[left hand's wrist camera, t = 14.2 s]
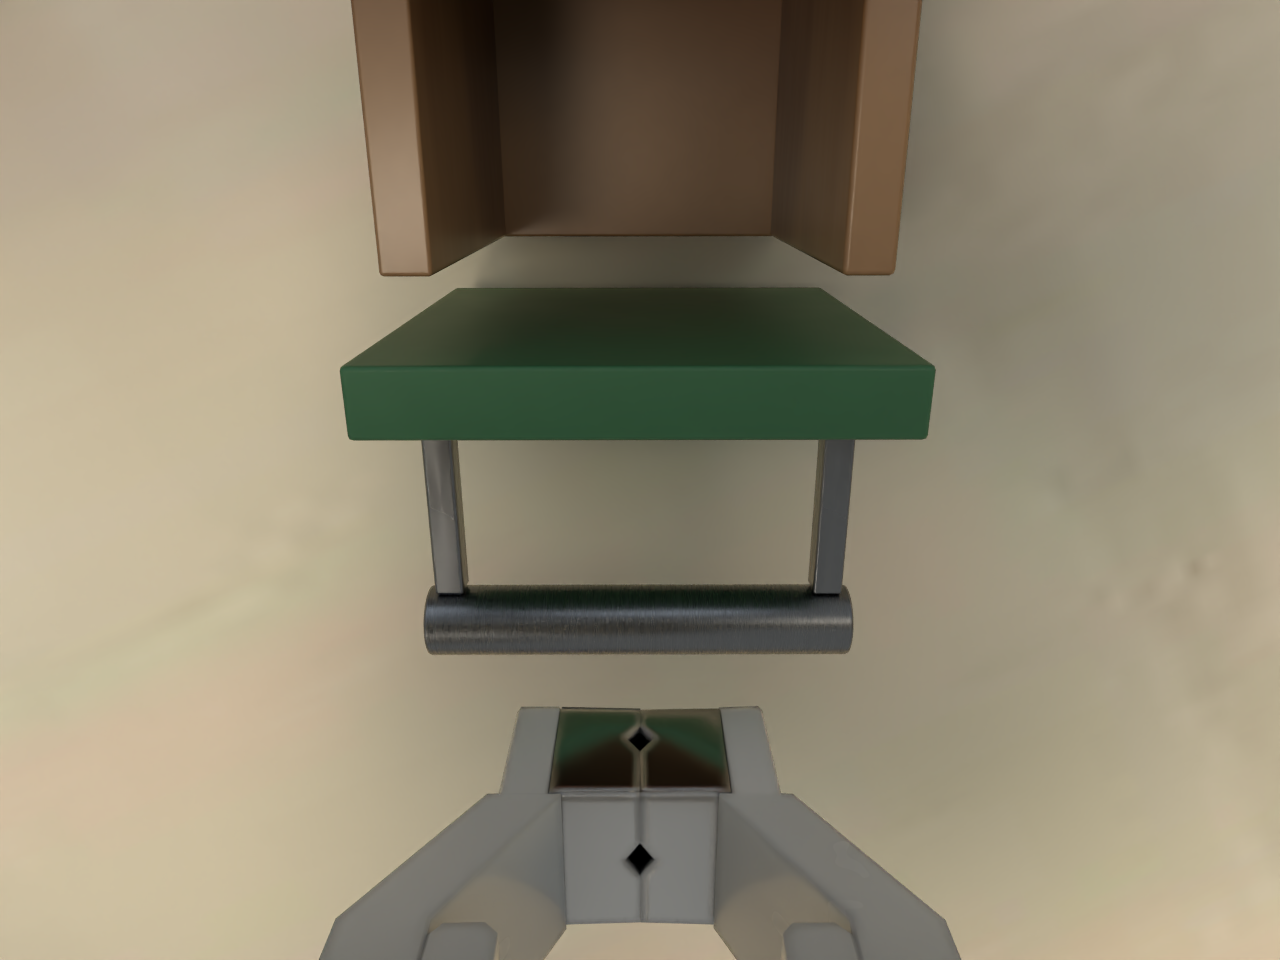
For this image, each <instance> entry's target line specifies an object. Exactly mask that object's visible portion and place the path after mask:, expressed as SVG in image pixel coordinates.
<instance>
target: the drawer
mask: <svg viewBox="0 0 1280 960" xmlns="http://www.w3.org/2000/svg"><path fill="white" fill-rule="evenodd" d="M351 6H352V15H353V25H354V34H355V44H356V53H357V63H358V72H359V82H360V91H361V101H362V111H363V120H364V130H365V139H366V149H367V158H368V168H369V177H370V187H371V196H372V206H373V215H374V225H375V234H376V244H377V253H378V263H379V272H380V274H381V275H382V276H431V275H433V274H435V273H437V272H439V271H441V270H442V269H444V268H446V267H448V266H450V265H452V264H454V263H455V262H457V261H459V260H461V259H463V258H465V257H467V256H469V255H470V254H472V253H474V252H476V251H478V250H480V249H482V248H483V247H485V246H487V245H489V244H491V243H493V242H495V241H497V240H498V239H500V238H502V237H504V236H774V237H776V238H777V239H779V240H781V241H783V242H785V243H787V244H789V245H791V246H792V247H794V248H796V249H798V250H800V251H802V252H804V253H805V254H807V255H809V256H811V257H813V258H815V259H817V260H819V261H820V262H822V263H824V264H826V265H828V266H830V267H832V268H834V269H835V270H837V271H839V272H841V273H843V274H845V275H891V274H893V273H894V271H895V267H896V257H897V247H898V237H899V227H900V217H901V207H902V197H903V187H904V177H905V167H906V158H907V148H908V138H909V128H910V118H911V108H912V98H913V88H914V78H915V68H916V58H917V48H918V38H919V28H920V18H921V8H922V0H351ZM935 371H936V370H935V366H934V365H932V364H931V363H929V362H928V361H926V360H925V359H923V358H922V357H920V356H919V355H917V354H916V353H914V352H913V351H912V350H910V349H909V348H907V347H906V346H904V345H903V344H901V343H900V342H898V341H897V340H895V339H894V338H893V337H891V336H890V335H888V334H887V333H885V332H884V331H882V330H881V329H879V328H878V327H876V326H875V325H873V324H872V323H871V322H869V321H868V320H866V319H865V318H863V317H862V316H860V315H859V314H857V313H856V312H854V311H853V310H852V309H850V308H849V307H847V306H846V305H844V304H843V303H841V302H840V301H838V300H837V299H835V298H834V297H832V296H831V295H830V294H828V293H827V292H825V291H824V290H822V289H821V288H457V289H455V290H453V291H452V292H450V293H449V294H448V295H446V296H445V297H443V298H442V299H440V300H439V301H437V302H436V303H434V304H433V305H431V306H430V307H428V308H427V309H426V310H424V311H423V312H421V313H420V314H418V315H417V316H415V317H414V318H412V319H411V320H409V321H408V322H406V323H405V324H403V325H402V326H401V327H399V328H398V329H396V330H395V331H393V332H392V333H390V334H389V335H387V336H386V337H384V338H383V339H381V340H380V341H378V342H377V343H376V344H374V345H373V346H371V347H370V348H368V349H367V350H365V351H364V352H362V353H361V354H359V355H358V356H356V357H355V358H354V359H352V360H351V361H349V362H348V363H346V364H345V365H343V366H342V367H341V369H340V376H341V384H342V392H343V400H344V408H345V416H346V424H347V432H348V437H349V439H351V440H421V443H422V453H423V464H424V475H425V485H426V496H427V506H428V517H429V527H430V538H431V548H432V559H433V570H434V580H435V585H434V586H432V587H431V588H430V590H429V592H428V595H427V599H426V603H425V610H424V638H425V644H426V648H427V650H428V652H429V653H430V654H432V655H532V654H846V653H848V652H849V650H850V647H851V644H852V638H853V609H852V603H851V598H850V594H849V592H848V589H847V587H846V586H845V585H842V581H843V570H844V559H845V548H846V537H847V526H848V514H849V503H850V492H851V481H852V470H853V459H854V448H855V440H922V439H925V438H926V437H927V435H928V428H929V420H930V412H931V404H932V395H933V387H934V379H935ZM457 440H819V443H818V457H817V470H816V483H815V497H814V510H813V523H812V537H811V550H810V563H809V577H808V581H809V584H782V585H467V584H468V581H469V580H468V567H467V554H466V542H465V529H464V517H463V504H462V491H461V479H460V466H459V454H458V441H457Z"/></svg>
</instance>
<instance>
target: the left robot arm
mask: <svg viewBox="0 0 1280 960" xmlns="http://www.w3.org/2000/svg"><path fill="white" fill-rule="evenodd" d="M629 922H649V923H684V924H714V929H715V930H716V932H717V933H718V934H719V936H720V937H721V939H722V940H723V941H724V943H725V944H726V946H727V947H728V948H729V950H730V951H731V952H732V954H733V955H734V957H735V958H736V959H737V960H961V958H960V955H959V953H958V950H957V948H956V945H955V943H954V940H953V938H952V936H951V933H950V931H949V928H948V926H947V923H946V921H945V919H943V918H942V917H941V916H940V915H939V914H937V913H936V912H935V911H934V910H932V909H931V908H930V907H929V906H928V905H926V904H925V903H924V902H923V901H922V900H920V899H919V898H918V897H917V896H916V895H914V894H913V893H912V892H911V891H910V890H908V889H907V888H906V887H905V886H904V885H902V884H901V883H900V882H899V881H898V880H896V879H895V878H894V877H893V876H891V875H890V874H889V873H888V872H887V871H885V870H884V869H883V868H882V867H881V866H879V865H878V864H877V863H876V862H875V861H873V860H872V859H871V858H870V857H869V856H867V855H866V854H865V853H864V852H863V851H861V850H860V849H859V848H858V847H856V846H855V845H854V844H853V843H852V842H850V841H849V840H848V839H847V838H846V837H844V836H843V835H842V834H841V833H840V832H838V831H837V830H836V829H835V828H834V827H832V826H831V825H830V824H829V823H828V822H826V821H825V820H824V819H823V818H822V817H820V816H819V815H818V814H817V813H815V812H814V811H813V810H812V809H811V808H809V807H808V806H807V805H806V804H805V803H803V802H802V801H801V800H800V799H799V798H797V797H796V796H795V795H794V794H781V791H780V787H779V783H778V778H777V774H776V769H775V765H774V761H773V756H772V752H771V748H770V743H769V739H768V734H767V730H766V726H765V721H764V717H763V713H762V710H761V709H760V708H759V707H758V706H753V707H723V708H719V709H651V710H640V709H632V708H585V707H562V709H561V708H559V707H521V709H520V710H519V711H518V713H517V716H516V721H515V725H514V729H513V734H512V738H511V743H510V747H509V751H508V756H507V760H506V765H505V769H504V773H503V778H502V782H501V787H500V791H499V794H486V795H485V796H484V797H483V798H481V799H480V800H479V801H478V802H477V803H475V804H474V805H473V806H472V807H471V808H469V809H468V810H467V811H466V812H464V813H463V814H462V815H461V816H460V817H458V818H457V819H456V820H455V821H454V822H452V823H451V824H450V825H449V826H448V827H446V828H445V829H444V830H443V831H441V832H440V833H439V834H438V835H437V836H435V837H434V838H433V839H432V840H431V841H429V842H428V843H427V844H426V845H424V846H423V847H422V848H421V849H420V850H418V851H417V852H416V853H415V854H414V855H412V856H411V857H410V858H409V859H408V860H406V861H405V862H404V863H403V864H401V865H400V866H399V867H398V868H397V869H395V870H394V871H393V872H392V873H391V874H389V875H388V876H387V877H386V878H384V879H383V880H382V881H381V882H380V883H378V884H377V885H376V886H375V887H374V888H372V889H371V890H370V891H369V892H367V893H366V894H365V895H364V896H363V897H361V898H360V899H359V900H358V901H357V902H355V903H354V904H353V905H352V906H351V907H349V908H348V909H347V910H346V911H344V912H343V913H342V914H341V915H340V916H338V917H337V918H336V919H335V922H334V924H333V927H332V929H331V932H330V934H329V936H328V939H327V941H326V944H325V946H324V949H323V951H322V953H321V956H320V958H319V960H544V959H545V957H546V956H547V955H548V953H549V952H550V951H551V949H552V948H553V946H554V945H555V944H556V942H557V941H558V940H559V938H560V937H561V935H562V934H563V933H564V931H565V930H566V924H595V923H629Z"/></svg>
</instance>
